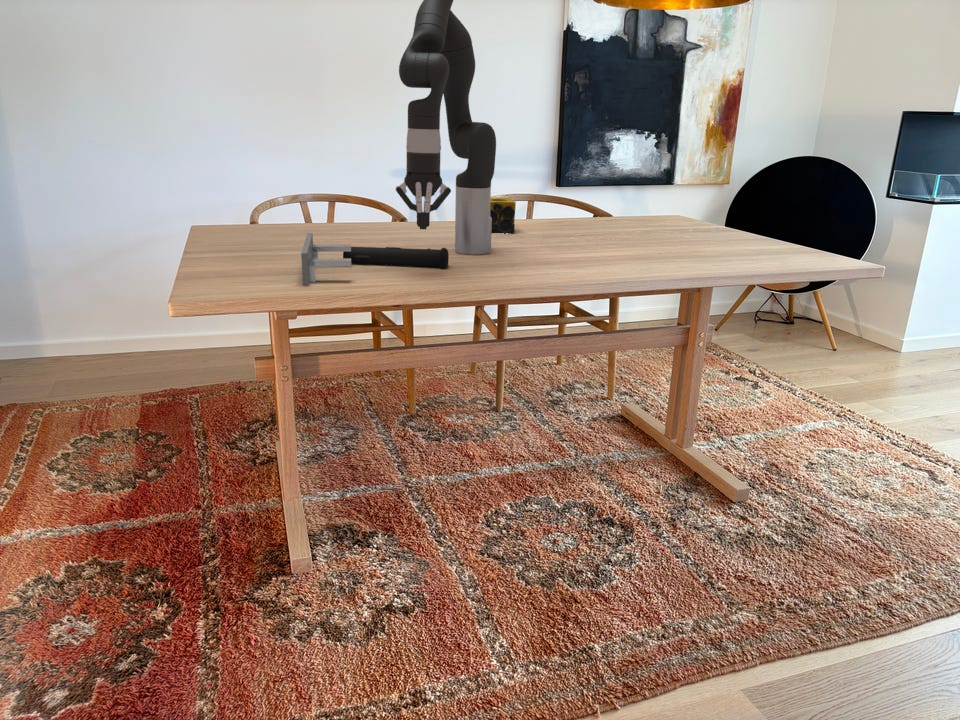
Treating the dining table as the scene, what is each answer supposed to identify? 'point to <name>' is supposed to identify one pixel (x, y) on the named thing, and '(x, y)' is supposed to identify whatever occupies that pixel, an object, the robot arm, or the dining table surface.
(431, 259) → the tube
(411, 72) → the robot arm
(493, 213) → the black and yellow cube
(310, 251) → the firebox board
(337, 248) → the grey u-shaped bracket
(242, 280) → the dining table surface
